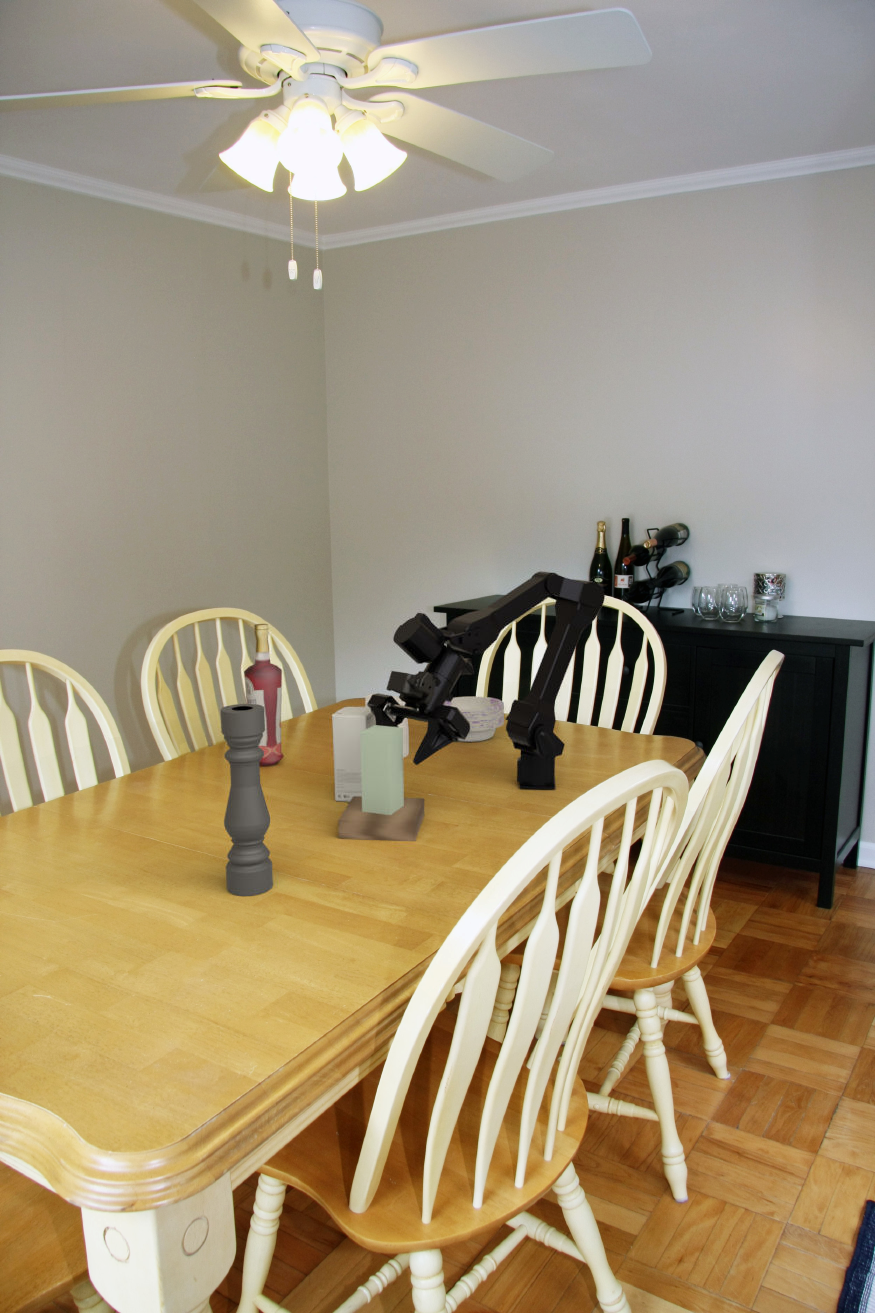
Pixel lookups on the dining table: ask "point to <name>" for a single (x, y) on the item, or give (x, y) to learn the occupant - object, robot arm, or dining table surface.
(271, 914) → the dining table surface
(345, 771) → the skincare box
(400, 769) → the sage pillar block
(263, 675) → the liquor
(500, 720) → the paper bowls
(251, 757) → the candle holder
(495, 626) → the robot arm
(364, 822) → the walnut block
